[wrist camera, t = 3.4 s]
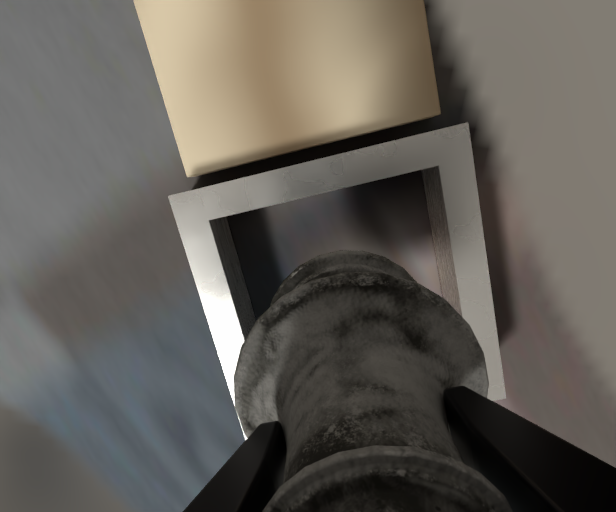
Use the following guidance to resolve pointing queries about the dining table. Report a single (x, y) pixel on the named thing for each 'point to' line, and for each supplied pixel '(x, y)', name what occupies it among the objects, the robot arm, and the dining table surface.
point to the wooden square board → (286, 73)
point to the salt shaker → (363, 390)
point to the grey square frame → (332, 176)
